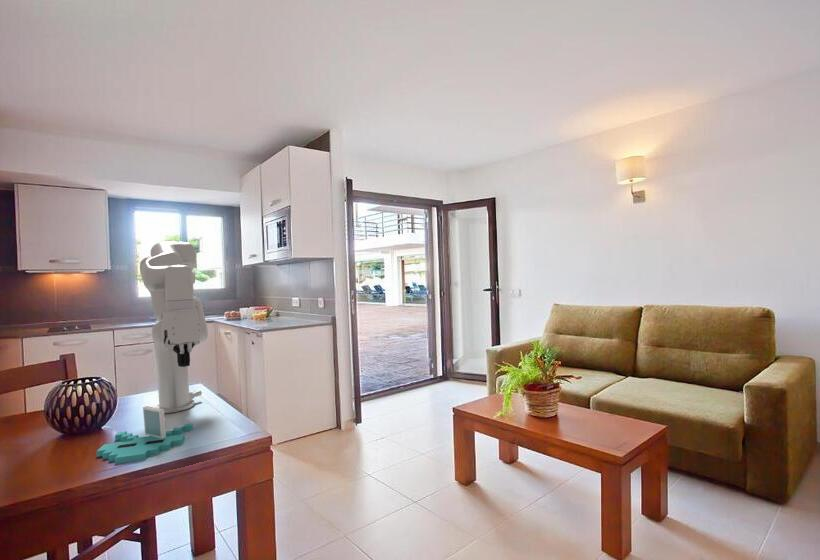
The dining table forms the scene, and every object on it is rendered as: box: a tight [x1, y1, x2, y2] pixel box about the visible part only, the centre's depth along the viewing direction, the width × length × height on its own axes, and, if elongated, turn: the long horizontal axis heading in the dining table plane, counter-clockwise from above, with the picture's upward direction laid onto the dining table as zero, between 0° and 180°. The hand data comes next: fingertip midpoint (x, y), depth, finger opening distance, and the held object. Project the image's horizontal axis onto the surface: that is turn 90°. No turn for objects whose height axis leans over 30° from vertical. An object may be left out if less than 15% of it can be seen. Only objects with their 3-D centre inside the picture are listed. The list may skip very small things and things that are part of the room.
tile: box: [142, 405, 167, 439], centre depth 118 cm, size 1×8×8 cm, turn 63°
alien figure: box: [96, 423, 194, 465], centre depth 115 cm, size 20×2×20 cm
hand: (184, 365), depth 126 cm, fingers closed
